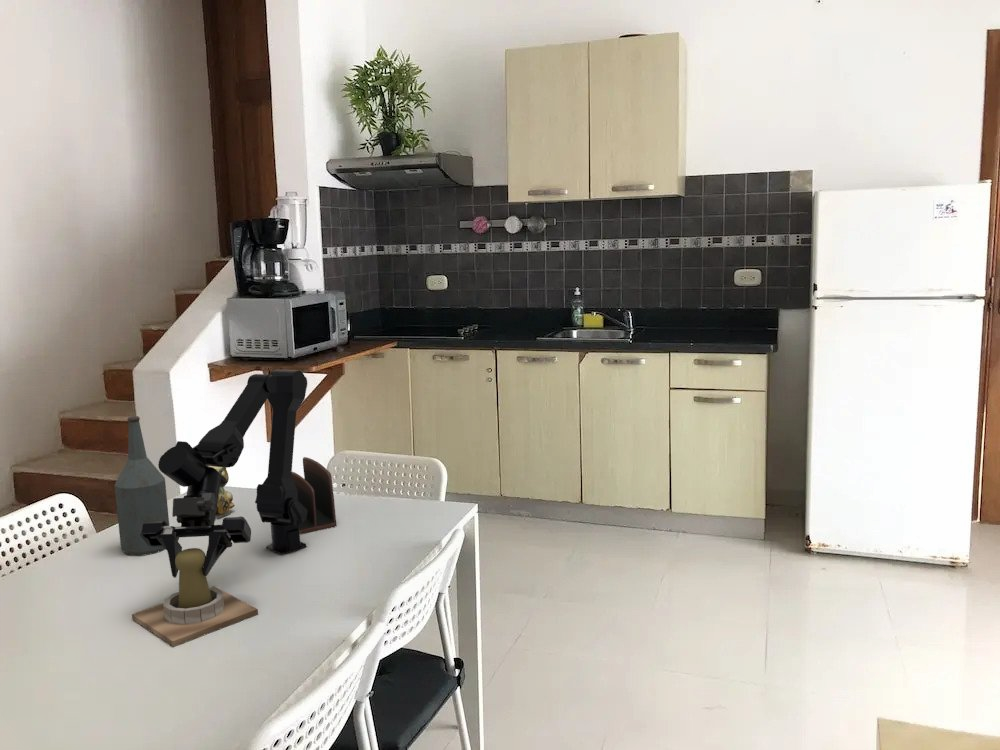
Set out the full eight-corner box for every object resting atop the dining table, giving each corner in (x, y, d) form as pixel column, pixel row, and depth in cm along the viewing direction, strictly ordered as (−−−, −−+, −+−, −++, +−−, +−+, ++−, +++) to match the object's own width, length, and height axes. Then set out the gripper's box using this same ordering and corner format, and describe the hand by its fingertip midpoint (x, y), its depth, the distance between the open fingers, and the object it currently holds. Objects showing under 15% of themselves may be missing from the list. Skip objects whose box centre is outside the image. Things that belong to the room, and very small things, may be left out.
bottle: (122, 559, 181) (108, 423, 176) (120, 545, 190) (106, 415, 185) (173, 550, 186) (161, 417, 181) (168, 536, 194) (156, 410, 189)
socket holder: (132, 619, 152) (130, 601, 151) (214, 590, 163) (212, 573, 163) (173, 646, 141) (171, 627, 140) (258, 614, 152) (256, 596, 152)
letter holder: (309, 506, 215) (305, 452, 212) (337, 527, 198) (333, 469, 196) (270, 513, 210) (266, 458, 207) (295, 536, 193) (291, 477, 191)
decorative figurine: (214, 523, 203) (208, 463, 200) (186, 520, 206) (181, 460, 203) (239, 510, 212) (235, 453, 209) (213, 508, 215) (208, 451, 212)
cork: (201, 616, 148) (195, 557, 146) (171, 614, 150) (164, 556, 148) (219, 601, 154) (213, 544, 152) (190, 600, 155) (183, 543, 154)
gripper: (137, 479, 151) (119, 560, 142) (242, 474, 152) (231, 555, 143) (157, 506, 160) (141, 585, 151) (255, 502, 161) (246, 580, 152)
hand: (189, 576), depth 149 cm, fingers open, 5 cm apart
